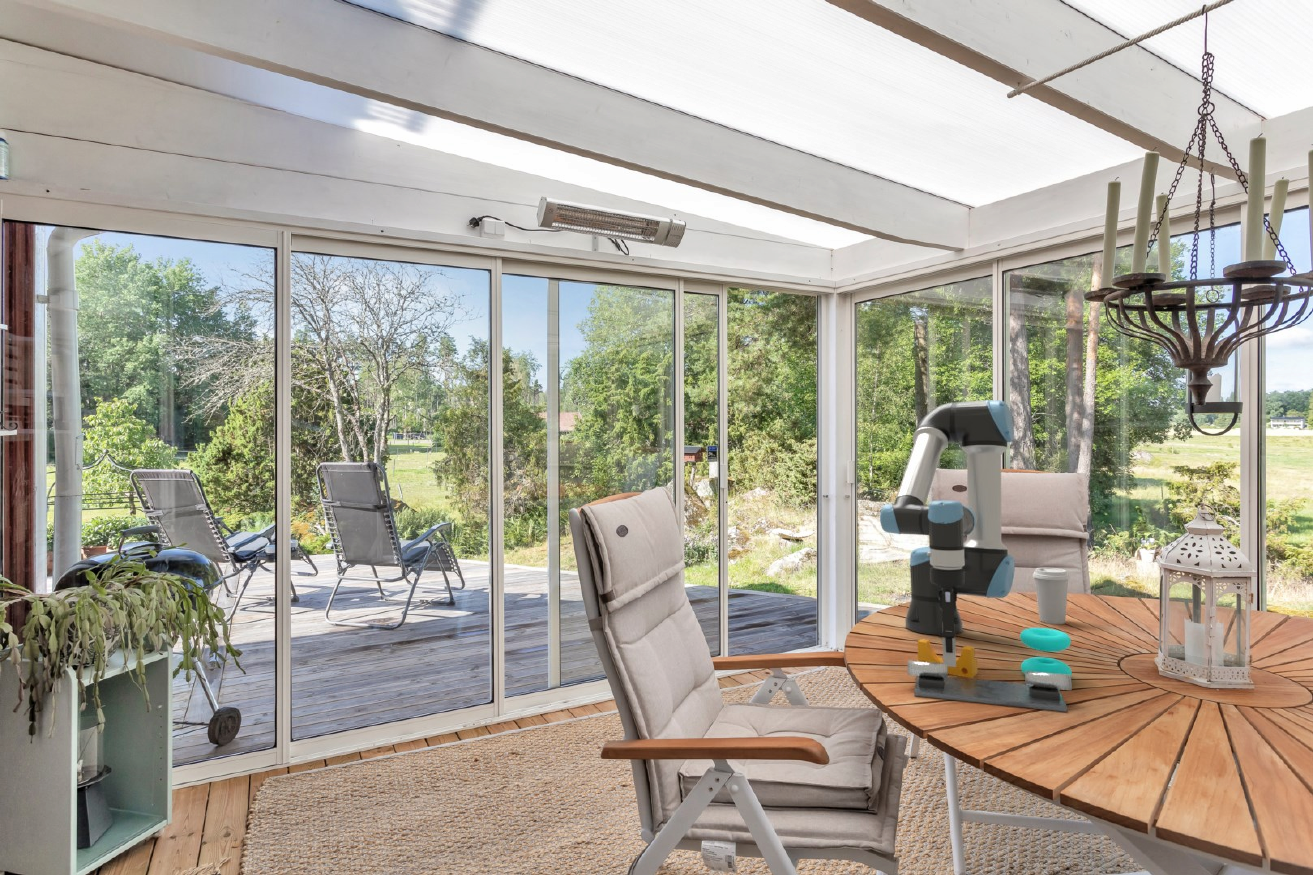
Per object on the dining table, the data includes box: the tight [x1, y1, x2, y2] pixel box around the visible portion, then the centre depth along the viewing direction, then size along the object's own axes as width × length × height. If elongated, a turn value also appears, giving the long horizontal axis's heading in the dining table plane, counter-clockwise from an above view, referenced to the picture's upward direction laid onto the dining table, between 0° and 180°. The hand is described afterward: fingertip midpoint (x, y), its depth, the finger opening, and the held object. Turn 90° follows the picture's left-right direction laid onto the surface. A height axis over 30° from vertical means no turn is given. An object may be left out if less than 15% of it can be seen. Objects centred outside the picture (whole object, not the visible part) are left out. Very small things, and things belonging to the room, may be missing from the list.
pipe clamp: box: [917, 638, 978, 679], centre depth 163 cm, size 12×4×6 cm, turn 50°
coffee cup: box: [1032, 567, 1071, 625], centre depth 205 cm, size 10×10×15 cm
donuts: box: [1019, 627, 1073, 677], centre depth 158 cm, size 10×10×10 cm
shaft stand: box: [907, 659, 1072, 713], centre depth 148 cm, size 12×31×6 cm, turn 68°
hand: (949, 657), depth 164 cm, fingers open, 13 cm apart
